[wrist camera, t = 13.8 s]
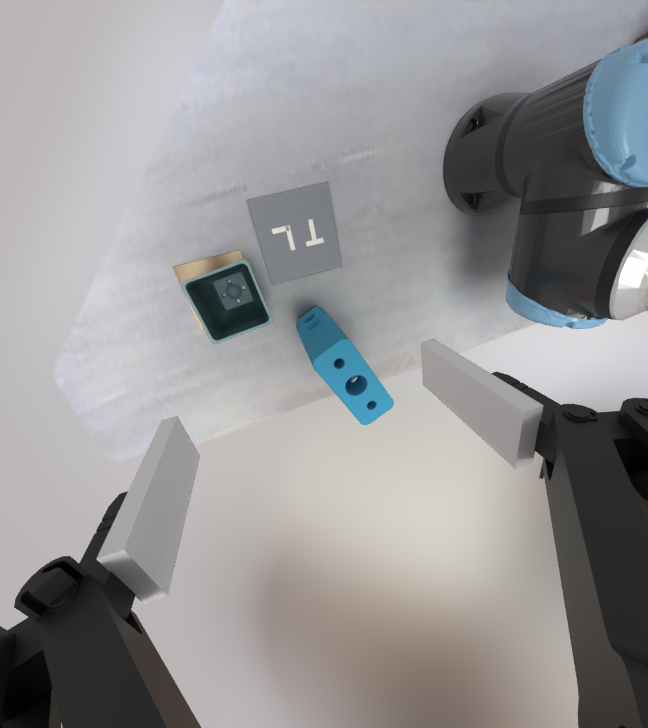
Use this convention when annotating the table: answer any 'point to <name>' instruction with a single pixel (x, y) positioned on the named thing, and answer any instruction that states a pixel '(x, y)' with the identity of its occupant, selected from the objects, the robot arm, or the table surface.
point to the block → (342, 366)
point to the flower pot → (227, 301)
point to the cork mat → (205, 270)
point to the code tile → (296, 232)
